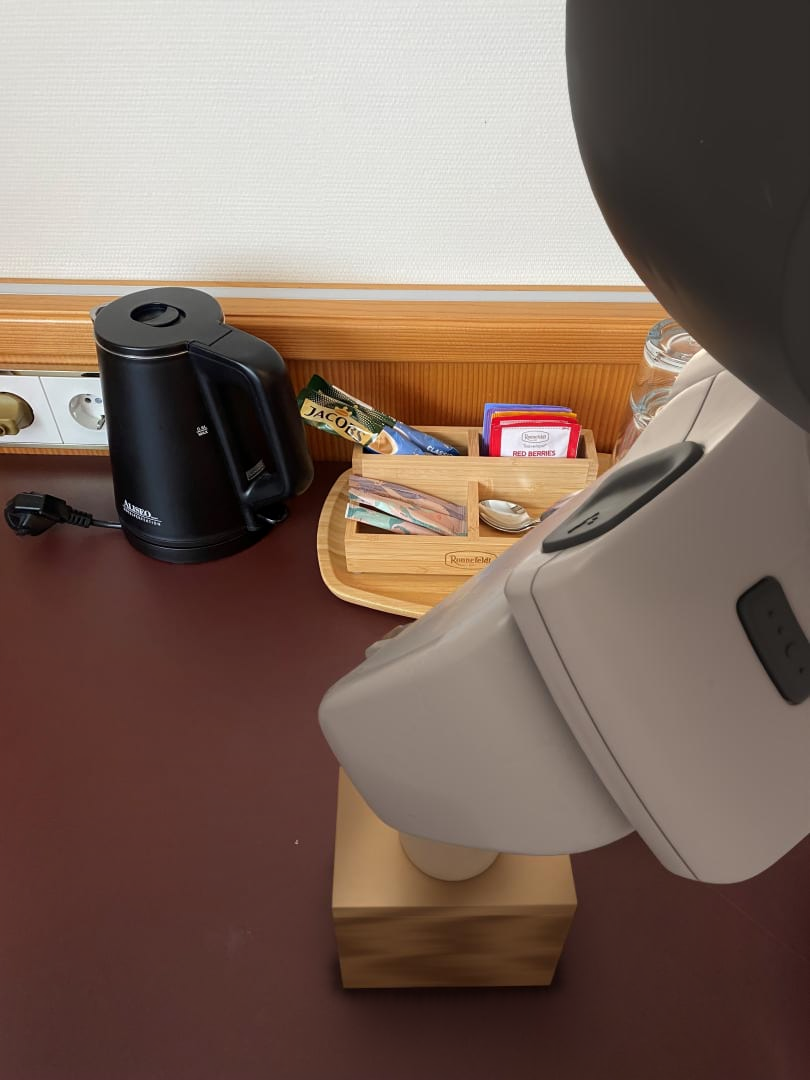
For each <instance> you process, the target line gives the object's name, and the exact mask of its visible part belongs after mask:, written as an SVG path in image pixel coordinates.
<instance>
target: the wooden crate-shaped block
mask: <svg viewBox="0 0 810 1080" xmlns="http://www.w3.org/2000/svg"><path fill="white" fill-rule="evenodd" d="M334 836H335V837H334V852H333V853H334V855H333V857H334V858H333V874H332V893H331V913H332V921H333V927H334V934H335V940H336V946H337V955H338V961H339V962H338V963H339V967H340V968H339V969H340V975H341V982H342V988H343V989H379V988H380V989H384V988H389V989H391V988H447V987H448V988H452V987H454V988H456V987H459V988H460V987H512V986H513V987H521V986H525V987H526V986H530V987H531V986H550V985H551V984H552V981H553V977H554V975H555V971H556V968H557V966H558V963H559V960H560V957H561V954H562V951H563V949H564V946H565V942H566V939H567V937H568V934H569V931H570V928H571V925H572V922H573V919H574V916H575V912H576V910H577V908H578V904H579V903H578V898H577V897H578V896H577V892H576V885H575V880H574V874H573V868H572V862H571V855H570V854H567V855H558V856H529V855H517V854H509V853H501V852H499V854H498V856H497V857H496V859H495V860H494V862H493V863H492V864H491V865H490V866H489V867H488V868H487V869H486V870H485V871H484V872H482V873H481V874H479V875H477V876H475V877H472V878H470V879H466V880H461V881H446V880H440V879H437V878H434V877H432V876H429V875H427V874H426V873H424V872H422V871H421V870H420V869H418V868H417V867H416V866H415V865H414V864H413V863H412V862H411V861H410V859H409V858H408V857H407V855H406V853H405V851H404V849H403V846H402V844H401V841H400V837H399V831H397V830H395V829H393V828H391V827H389V826H388V825H386V824H385V823H384V822H382V821H381V820H380V819H379V818H378V817H377V815H376V814H375V813H374V812H373V811H372V810H371V809H370V808H369V806H368V805H367V803H366V802H365V801H364V799H363V798H362V797H361V795H360V794H359V792H358V791H357V790H356V788H355V787H354V785H353V784H352V782H351V781H350V779H349V777H348V776H347V774H346V773H345V771H344V770H343V768H342V766H341V765H340V766H339V767H338V781H337V798H336V817H335V835H334Z"/></svg>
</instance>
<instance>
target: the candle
mask: <svg viewBox="0 0 810 1080" xmlns="http://www.w3.org/2000/svg"><path fill="white" fill-rule="evenodd" d="M399 837H400V841H401V844H402V846H403V849H404V851H405V853H406V855H407V857H408V858H409V859H410V861H411V862H412V863H413V864H414V865H415V866H416V867H417V868H418V869H420V870H421V871H422V872H424V873H426V874H427V875H429V876H432V877H434V878H437V879H440V880H446V881H461V880H466V879H470V878H472V877H475V876H477V875H479V874H481V873H482V872H484V871H485V870H486V869H487V868H488V867H489V866H490V865H491V864H492V863H493V862H494V860H495V859H496V857H497V856H498V854H499V852H493V851H485V850H478V849H472V848H466V847H460V846H455V845H449V844H444V843H439V842H435V841H431V840H427V839H422V838H418V837H414V836H411V835H408V834H405V833H402V832H399Z"/></svg>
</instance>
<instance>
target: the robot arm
mask: <svg viewBox="0 0 810 1080" xmlns="http://www.w3.org/2000/svg"><path fill="white" fill-rule="evenodd" d="M564 34H565V35H564V36H565V42H564V45H565V46H564V49H565V66H566V67H565V68H566V79H567V80H566V81H567V91H568V99H569V105H570V113H571V119H572V124H573V128H574V133H575V137H576V142H577V146H578V151H579V154H580V159H581V162H582V165H583V168H584V171H585V174H586V177H587V181H588V183H589V187H590V191H591V192H592V195H593V197H594V200H595V202H596V204H597V206H598V209H599V211H600V213H601V216H602V217H603V220H604V222H605V224H606V226H607V229H608V230H609V232H610V234H611V235H612V237H613V239H614V241H615V242H616V244H617V246H618V248H619V249H620V251H621V254H623V256H624V258H625V259H626V260H627V262H628V264H629V265H630V266H631V268H632V269H633V271H634V272H635V274H636V275H637V277H638V278H639V279H640V281H641V282H642V283H643V284H644V285H645V287H646V288H647V289H648V290H649V292H650V293H651V294H652V295H653V296H654V297H655V299H656V300H657V301H658V303H659V304H660V305H661V307H662V308H663V309H664V310H665V312H666V313H668V315H669V316H670V318H672V319H673V320H674V321H675V322H676V324H678V325H679V326H680V327H681V328H682V329H683V330H684V331H685V332H686V333H687V334H688V335H689V336H690V337H691V338H692V339H693V340H694V341H695V342H696V343H697V344H698V345H699V346H700V347H701V349H700V350H699V351H698V352H696V353H695V354H694V355H693V356H692V357H690V359H689V360H688V361H687V363H685V365H684V366H683V367H682V369H681V370H680V372H679V373H678V374H677V376H676V378H675V380H674V382H673V384H672V386H671V388H670V389H669V392H668V394H667V396H666V400H665V401H664V404H663V405H664V406H663V407H661V409H660V410H659V411H658V412H657V413H655V415H654V416H653V417H652V418H651V420H650V421H649V422H648V424H647V425H646V426H645V428H643V430H642V431H641V433H640V434H639V436H638V437H637V438H636V439H635V441H634V443H633V444H632V446H631V447H630V448H629V450H628V451H627V452H626V453H625V455H624V457H622V458H621V459H620V460H619V461H617V462H616V463H615V464H613V465H612V466H611V467H609V468H608V469H607V470H606V471H605V472H603V473H602V474H600V475H599V476H598V477H597V478H596V479H594V480H593V481H592V482H591V483H589V484H588V485H587V486H586V487H584V488H583V489H580V490H576V491H574V492H571V493H569V494H568V493H567V494H566V495H563V496H562V497H561V498H560V499H559V500H557V501H556V502H554V503H553V504H552V505H551V506H549V507H548V508H547V509H546V510H545V511H543V512H542V513H541V515H540V517H539V521H540V523H538V524H537V525H536V526H534V527H532V529H531V530H529V531H528V532H527V533H525V534H524V535H523V536H522V537H520V538H518V540H517V541H515V542H514V543H512V544H511V545H510V546H509V547H508V548H506V550H504V551H503V552H501V553H500V554H499V555H498V556H496V557H494V559H492V560H491V561H490V562H488V563H487V564H486V565H485V566H483V567H482V568H481V569H480V570H479V571H477V572H476V573H474V575H472V576H471V577H470V578H468V579H467V580H465V581H464V582H463V583H462V584H460V585H459V586H458V587H456V589H454V590H453V591H451V592H450V593H449V594H448V595H447V596H446V597H444V598H443V599H442V600H440V601H439V602H438V603H436V604H435V605H434V606H433V607H431V608H430V609H429V610H427V611H426V612H425V613H424V614H422V615H421V616H420V617H418V618H416V620H415V621H414V622H410V623H406V624H405V625H402V624H399V625H397V626H396V627H394V628H393V629H391V630H390V631H388V632H387V633H386V634H384V635H383V636H382V637H380V638H379V639H378V640H376V642H374V643H373V644H372V645H370V646H369V647H367V648H366V650H365V652H364V655H365V660H364V661H363V662H362V663H360V664H358V665H357V666H356V667H355V668H353V669H352V670H351V671H349V672H348V673H347V674H345V675H344V676H342V677H341V678H340V679H338V680H337V681H336V682H335V683H334V684H332V685H331V686H330V687H329V688H328V689H327V691H326V692H325V694H324V695H323V697H322V700H321V702H320V704H319V707H318V711H317V720H318V724H319V727H320V729H321V732H322V735H323V736H324V738H325V741H326V742H327V744H328V746H329V748H330V749H331V751H332V754H333V755H334V756H335V758H336V760H337V762H338V763H339V765H340V766H342V768H343V770H344V771H345V773H346V774H347V776H348V777H349V779H350V781H351V782H352V784H353V785H354V787H355V788H356V790H357V791H358V792H359V794H360V795H361V797H362V798H363V799H364V801H365V802H366V803H367V805H368V806H369V808H370V809H371V810H372V811H373V812H374V813H375V814H376V815H377V817H378V818H379V819H380V820H381V821H382V822H384V823H385V824H386V825H388V826H389V827H391V828H393V829H395V830H397V831H399V832H402V833H405V834H408V835H411V836H414V837H418V838H422V839H427V840H431V841H435V842H439V843H444V844H449V845H455V846H460V847H466V848H472V849H478V850H485V851H493V852H501V853H509V854H517V855H529V856H558V855H567V854H569V855H573V854H579V853H584V852H589V851H592V850H595V849H599V848H602V847H604V846H607V845H610V844H612V843H614V842H617V841H619V840H621V839H623V838H624V837H627V836H629V835H630V834H631V833H634V832H635V831H636V832H637V834H638V835H639V836H640V839H642V841H643V842H644V843H645V844H646V846H647V848H649V850H650V851H651V853H652V854H653V855H654V856H655V858H656V859H657V860H658V861H659V863H660V864H661V865H662V866H663V867H664V868H665V869H666V870H667V871H669V872H670V873H672V874H673V875H676V876H679V877H682V878H685V879H687V880H691V881H696V882H701V883H706V884H716V885H730V884H736V883H741V882H744V881H747V880H750V879H751V878H754V877H756V876H758V875H760V874H761V873H762V872H764V871H766V870H767V869H769V868H771V866H773V865H774V864H775V863H776V862H778V861H779V860H780V859H781V858H783V857H784V856H785V855H786V854H787V853H789V852H790V851H791V850H792V849H793V848H794V847H795V846H796V845H797V844H799V843H800V842H801V841H802V840H804V839H805V838H806V837H807V836H808V835H809V834H810V0H565V33H564Z"/></svg>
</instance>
